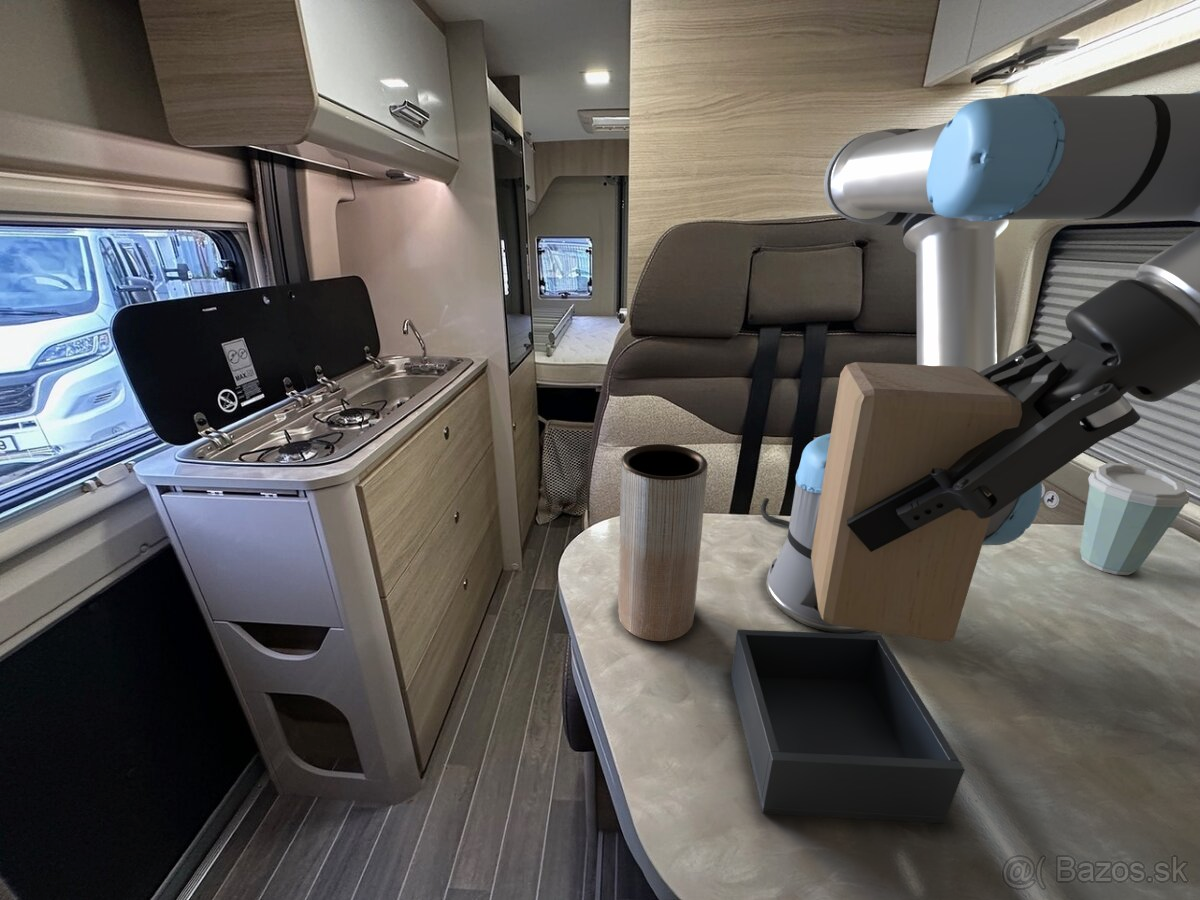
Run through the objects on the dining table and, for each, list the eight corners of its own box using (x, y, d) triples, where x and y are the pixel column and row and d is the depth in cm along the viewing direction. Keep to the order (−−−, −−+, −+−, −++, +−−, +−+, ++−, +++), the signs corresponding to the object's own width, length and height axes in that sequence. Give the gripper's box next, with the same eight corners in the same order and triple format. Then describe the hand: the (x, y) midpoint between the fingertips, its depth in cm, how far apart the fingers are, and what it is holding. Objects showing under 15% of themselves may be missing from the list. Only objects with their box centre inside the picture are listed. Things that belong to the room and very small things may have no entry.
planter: (607, 601, 73) (608, 449, 64) (672, 585, 76) (681, 439, 68) (636, 651, 65) (642, 484, 56) (708, 631, 68) (724, 470, 59)
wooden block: (922, 574, 50) (977, 364, 42) (956, 650, 41) (1033, 401, 33) (808, 559, 52) (840, 358, 45) (817, 627, 43) (859, 391, 36)
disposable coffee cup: (1167, 591, 76) (1214, 498, 70) (1074, 574, 79) (1112, 484, 73) (1131, 552, 85) (1170, 467, 79) (1049, 538, 88) (1080, 456, 83)
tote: (730, 675, 61) (737, 629, 58) (869, 681, 60) (881, 634, 58) (762, 813, 47) (772, 760, 44) (944, 823, 46) (965, 769, 43)
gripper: (1382, 424, 23) (901, 624, 34) (1123, 332, 43) (873, 478, 54) (1273, 293, 23) (825, 538, 34) (1063, 262, 43) (824, 423, 54)
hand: (854, 501), depth 44 cm, fingers closed on wooden block, 11 cm apart
